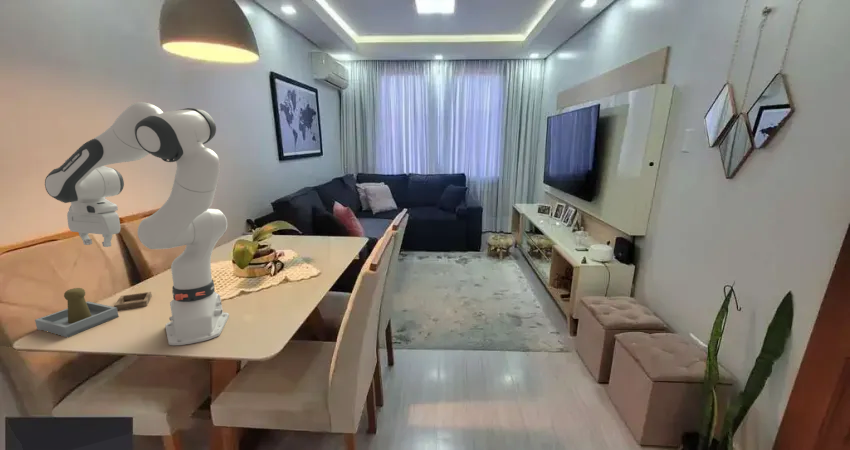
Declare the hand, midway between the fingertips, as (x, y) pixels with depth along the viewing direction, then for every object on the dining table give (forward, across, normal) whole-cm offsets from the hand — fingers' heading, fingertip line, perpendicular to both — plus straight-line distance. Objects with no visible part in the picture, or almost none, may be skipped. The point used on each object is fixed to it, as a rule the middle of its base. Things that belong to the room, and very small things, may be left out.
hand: (97, 245), depth 127 cm
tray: (+26, -3, -8) cm, 27 cm away
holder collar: (+26, -2, +9) cm, 27 cm away
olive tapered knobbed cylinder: (+25, -4, -7) cm, 26 cm away
